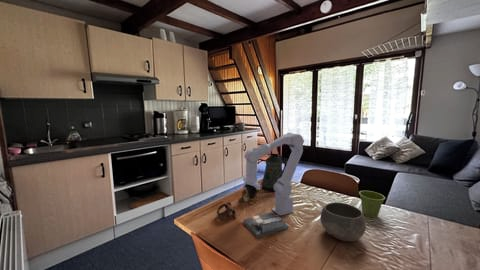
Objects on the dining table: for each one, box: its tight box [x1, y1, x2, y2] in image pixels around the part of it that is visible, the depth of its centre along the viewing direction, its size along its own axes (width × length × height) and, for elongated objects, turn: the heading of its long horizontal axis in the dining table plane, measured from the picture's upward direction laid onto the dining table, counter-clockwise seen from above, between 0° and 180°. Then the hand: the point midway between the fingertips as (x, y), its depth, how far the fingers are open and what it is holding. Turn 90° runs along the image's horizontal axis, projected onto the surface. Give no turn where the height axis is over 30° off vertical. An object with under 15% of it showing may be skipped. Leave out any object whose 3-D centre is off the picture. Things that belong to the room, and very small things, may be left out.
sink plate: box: [242, 212, 289, 239], centre depth 100 cm, size 17×14×4 cm
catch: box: [251, 215, 264, 225], centre depth 97 cm, size 3×6×3 cm, turn 26°
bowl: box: [320, 202, 367, 242], centre depth 91 cm, size 18×18×13 cm
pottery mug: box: [216, 201, 237, 220], centre depth 108 cm, size 12×10×8 cm
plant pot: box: [358, 190, 386, 218], centre depth 110 cm, size 12×12×11 cm
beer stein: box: [260, 153, 288, 193], centre depth 148 cm, size 16×19×25 cm
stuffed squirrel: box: [237, 183, 262, 206], centre depth 128 cm, size 10×14×13 cm
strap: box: [255, 216, 282, 227], centre depth 98 cm, size 14×3×1 cm, turn 116°
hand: (251, 198), depth 108 cm, fingers closed
